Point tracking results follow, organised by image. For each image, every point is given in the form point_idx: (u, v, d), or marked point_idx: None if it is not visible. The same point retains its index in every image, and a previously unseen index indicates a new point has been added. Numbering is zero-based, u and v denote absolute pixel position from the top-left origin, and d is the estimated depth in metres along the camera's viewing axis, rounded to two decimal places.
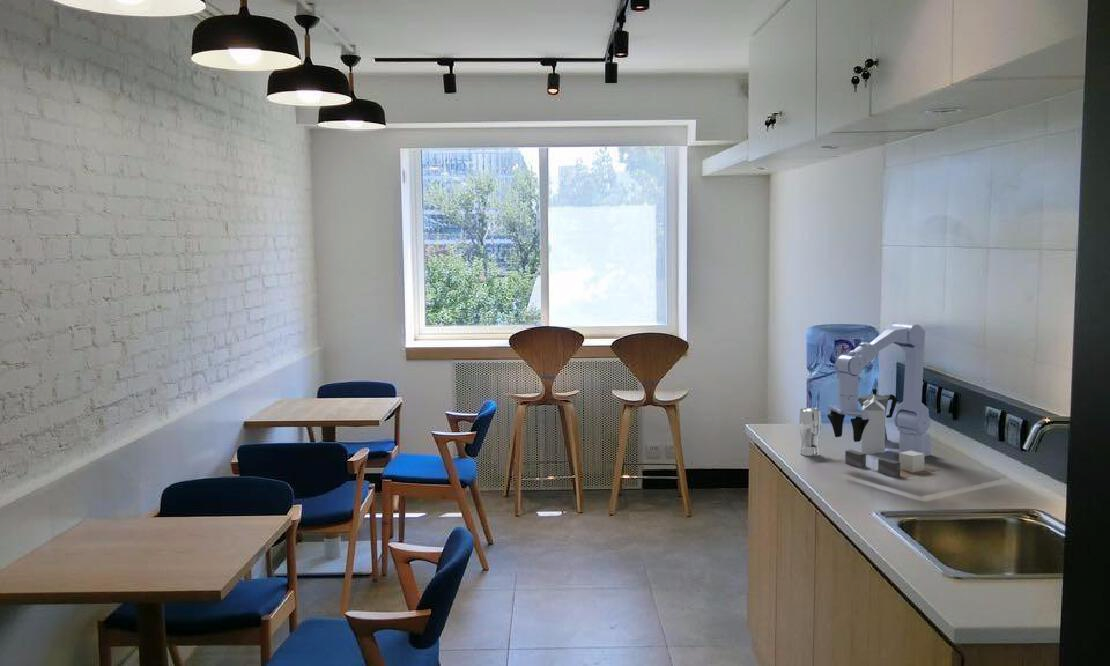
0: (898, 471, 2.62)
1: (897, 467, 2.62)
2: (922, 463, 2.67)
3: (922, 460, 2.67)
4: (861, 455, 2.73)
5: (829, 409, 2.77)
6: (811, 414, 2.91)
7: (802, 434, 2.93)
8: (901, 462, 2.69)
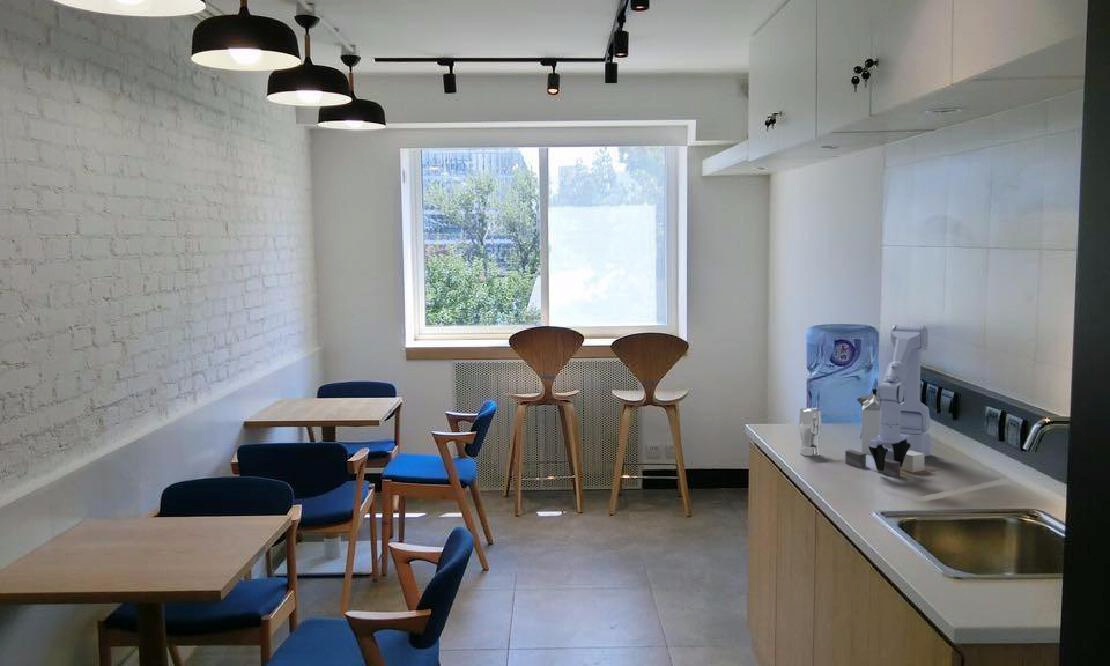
0: (898, 471, 2.62)
1: (897, 467, 2.62)
2: (922, 463, 2.67)
3: (922, 460, 2.67)
4: (861, 455, 2.73)
5: None
6: (811, 414, 2.91)
7: (802, 434, 2.93)
8: None
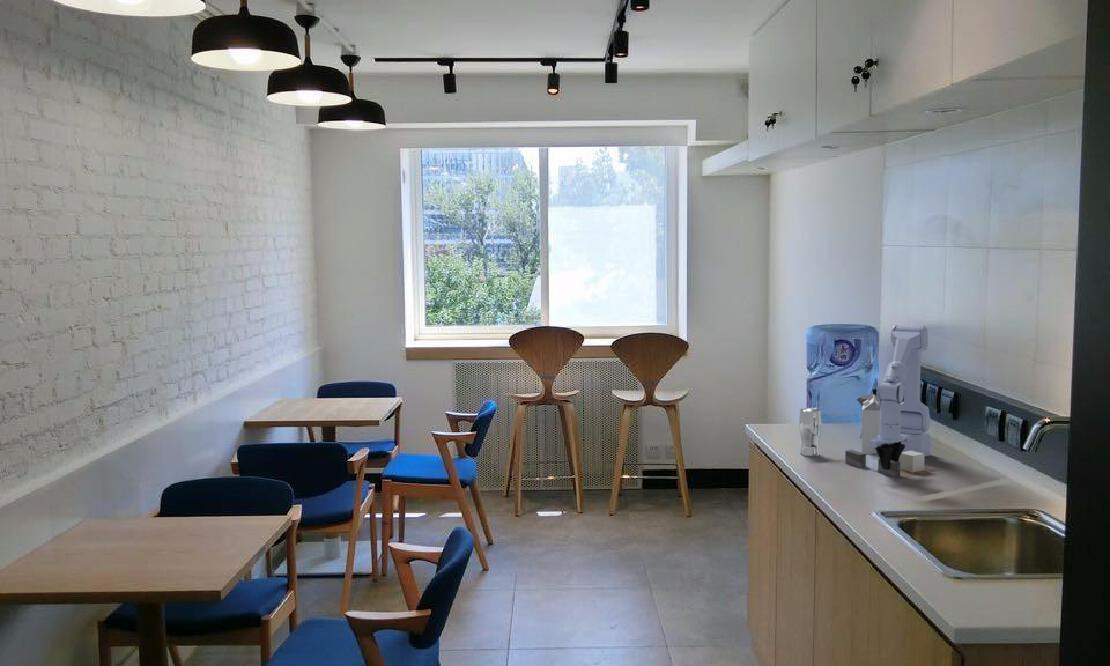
0: (898, 471, 2.62)
1: (897, 467, 2.62)
2: (922, 463, 2.67)
3: (922, 460, 2.67)
4: (861, 455, 2.73)
5: None
6: (811, 414, 2.91)
7: (802, 434, 2.93)
8: (901, 462, 2.69)
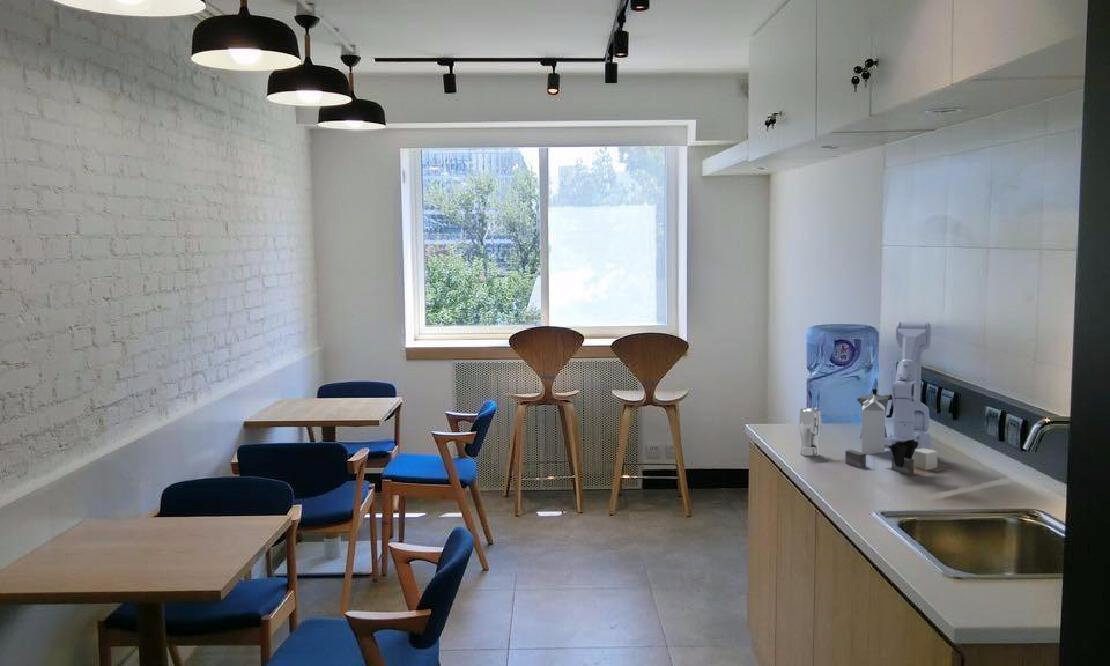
0: (912, 468, 2.65)
1: (911, 464, 2.64)
2: (935, 460, 2.70)
3: (935, 457, 2.70)
4: (861, 455, 2.73)
5: None
6: (811, 414, 2.91)
7: (802, 434, 2.93)
8: (914, 459, 2.72)
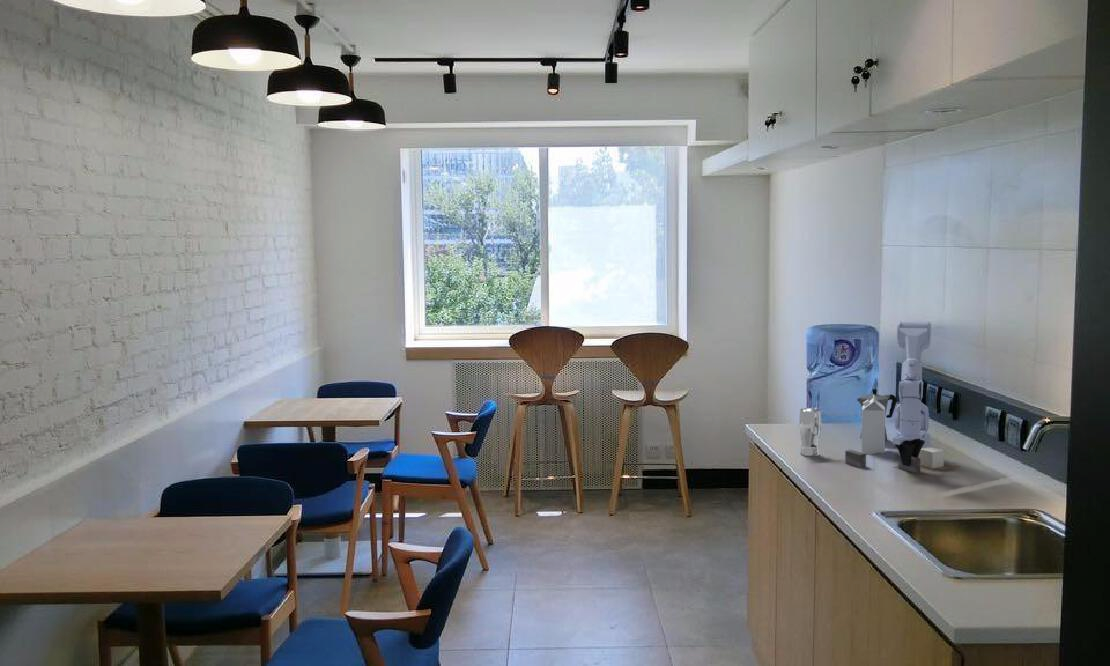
0: (918, 467, 2.66)
1: (917, 463, 2.66)
2: (941, 459, 2.71)
3: (941, 456, 2.71)
4: (861, 455, 2.73)
5: None
6: (811, 414, 2.91)
7: (802, 434, 2.93)
8: (921, 458, 2.73)
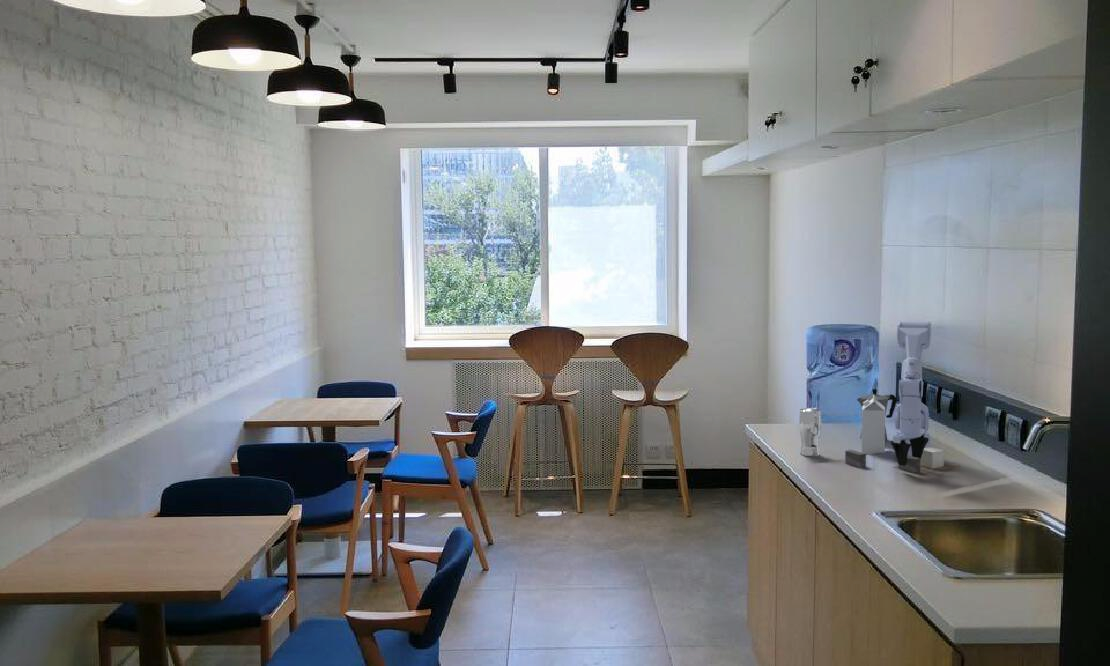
0: (918, 467, 2.66)
1: (917, 463, 2.66)
2: (941, 459, 2.71)
3: (941, 456, 2.71)
4: (861, 455, 2.73)
5: None
6: (811, 414, 2.91)
7: (802, 434, 2.93)
8: (921, 458, 2.73)
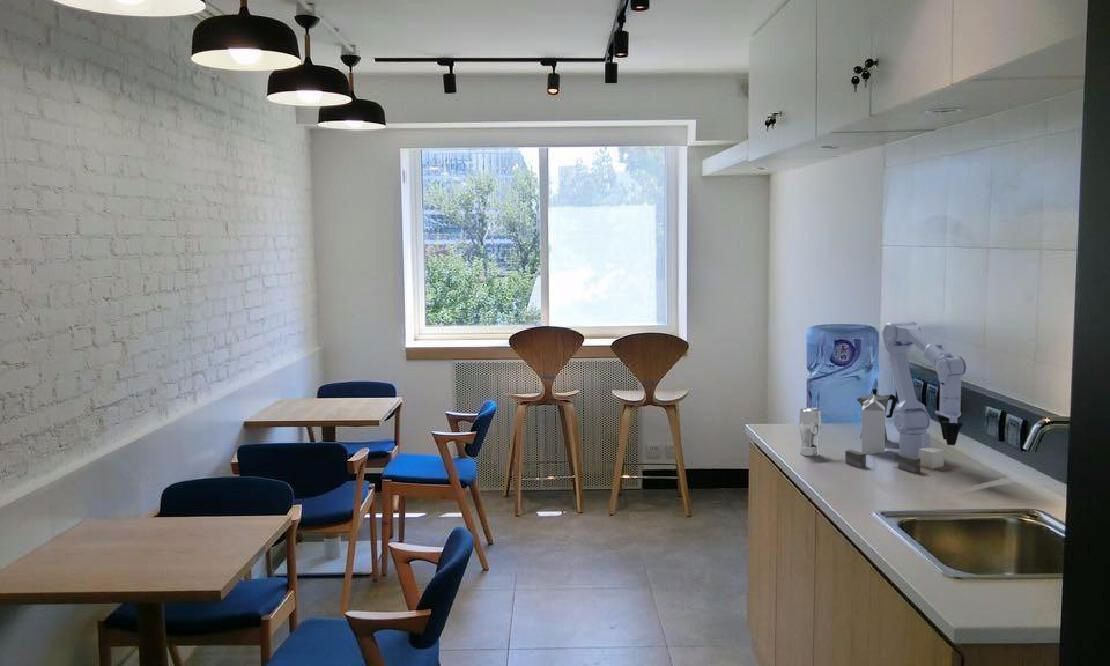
0: (918, 467, 2.66)
1: (917, 463, 2.66)
2: (941, 459, 2.71)
3: (941, 456, 2.71)
4: (861, 455, 2.73)
5: None
6: (811, 414, 2.91)
7: (802, 434, 2.93)
8: (921, 458, 2.73)
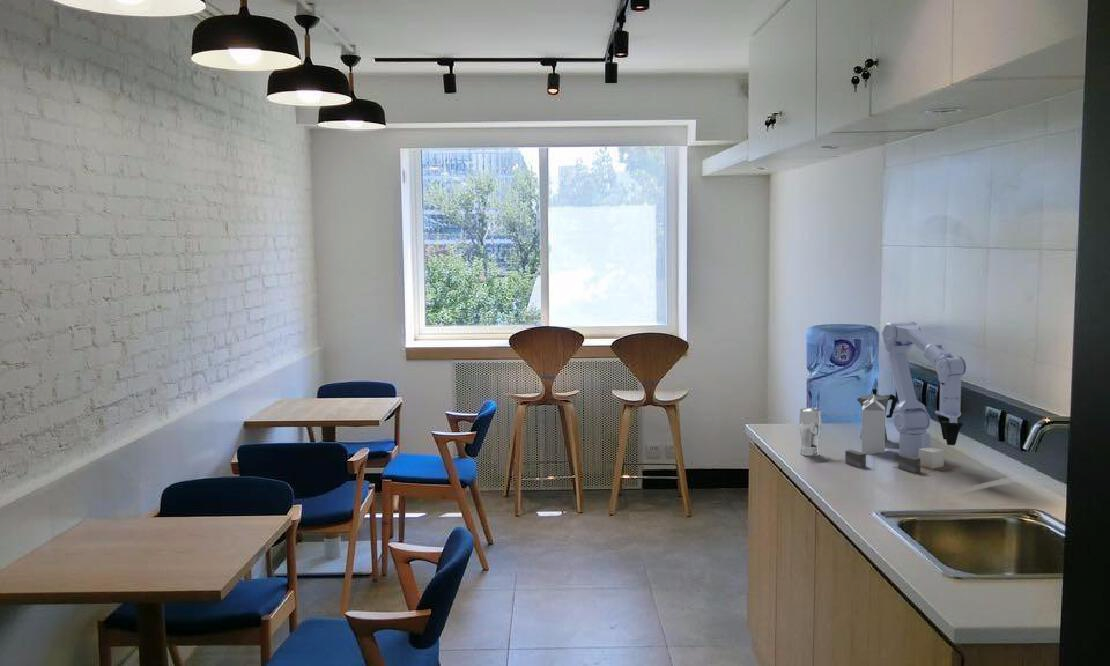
0: (918, 467, 2.66)
1: (917, 463, 2.66)
2: (941, 459, 2.71)
3: (941, 456, 2.71)
4: (861, 455, 2.73)
5: None
6: (811, 414, 2.91)
7: (802, 434, 2.93)
8: (921, 458, 2.73)
